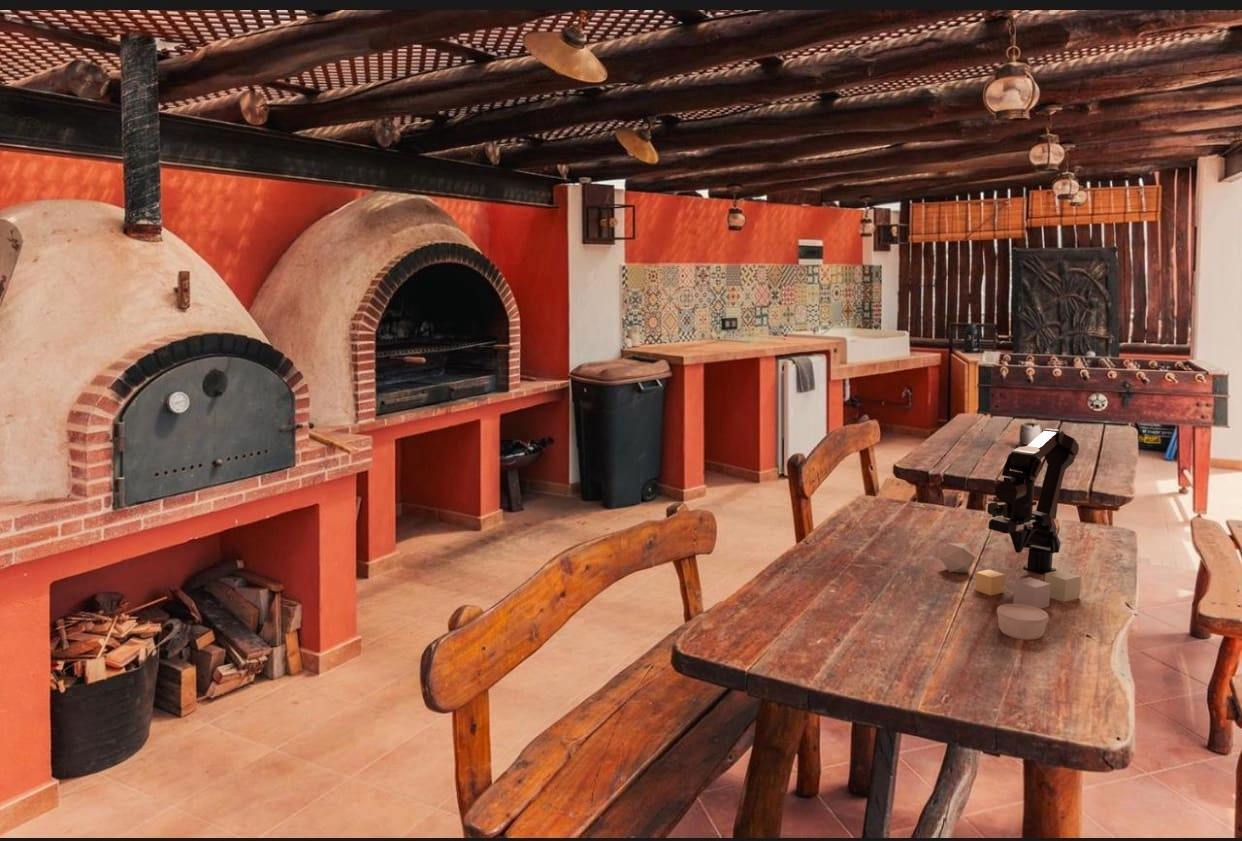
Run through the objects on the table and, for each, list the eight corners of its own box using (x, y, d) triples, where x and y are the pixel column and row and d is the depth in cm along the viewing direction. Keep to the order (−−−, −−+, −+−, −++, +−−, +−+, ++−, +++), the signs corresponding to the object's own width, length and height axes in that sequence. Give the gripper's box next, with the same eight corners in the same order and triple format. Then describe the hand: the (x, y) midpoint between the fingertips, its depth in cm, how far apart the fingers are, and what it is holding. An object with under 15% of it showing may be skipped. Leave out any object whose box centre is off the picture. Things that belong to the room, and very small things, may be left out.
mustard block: (987, 587, 245) (988, 569, 244) (1003, 592, 241) (1004, 574, 240) (975, 590, 243) (976, 572, 242) (990, 595, 238) (991, 577, 238)
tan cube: (1058, 591, 242) (1060, 569, 241) (1079, 598, 236) (1080, 576, 235) (1043, 595, 239) (1045, 573, 238) (1064, 602, 233) (1065, 580, 233)
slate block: (1028, 599, 236) (1030, 577, 235) (1049, 606, 231) (1050, 583, 230) (1013, 603, 233) (1014, 580, 232) (1033, 610, 228) (1035, 587, 227)
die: (969, 580, 253) (984, 550, 254) (941, 563, 253) (957, 534, 255) (958, 581, 261) (973, 552, 262) (931, 565, 261) (946, 536, 263)
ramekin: (1033, 623, 219) (1034, 602, 219) (1056, 641, 208) (1058, 620, 208) (987, 624, 219) (988, 603, 218) (1008, 642, 208) (1009, 620, 207)
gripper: (1018, 486, 256) (1015, 540, 258) (973, 494, 247) (970, 549, 249) (1054, 494, 246) (1050, 550, 249) (1008, 503, 237) (1004, 560, 240)
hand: (1018, 552), depth 247 cm, fingers closed
